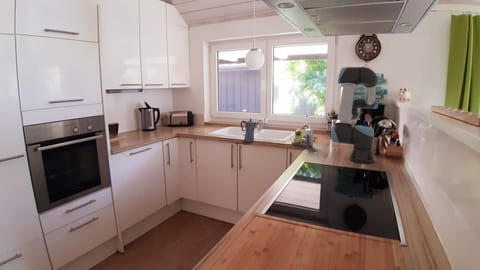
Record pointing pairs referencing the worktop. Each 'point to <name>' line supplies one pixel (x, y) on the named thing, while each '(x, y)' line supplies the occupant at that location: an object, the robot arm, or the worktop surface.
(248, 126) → the moka pot
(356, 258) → the worktop surface
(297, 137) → the pale yellow rounded lump
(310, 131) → the grey white box
